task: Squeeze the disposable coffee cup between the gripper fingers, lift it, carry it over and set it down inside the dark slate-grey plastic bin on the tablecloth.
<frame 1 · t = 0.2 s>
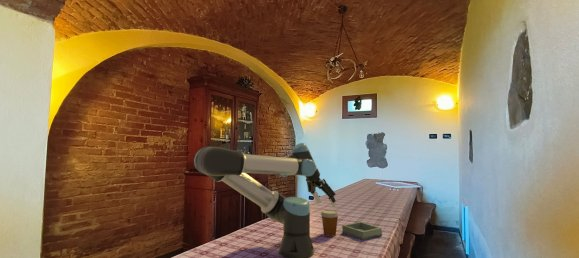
hand: (327, 204, 156), 16 cm above the table, tool tilted 30°, fingers open, 13 cm apart
bin: (361, 234, 157), on the table
disposable coffee cup: (329, 234, 156), on the table
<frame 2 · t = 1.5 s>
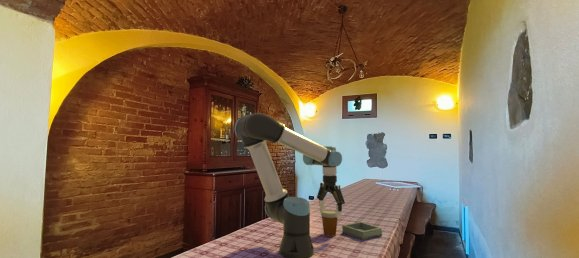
hand: (330, 214, 157), 10 cm above the table, tool pointing down, fingers open, 13 cm apart
nothing on the table moved.
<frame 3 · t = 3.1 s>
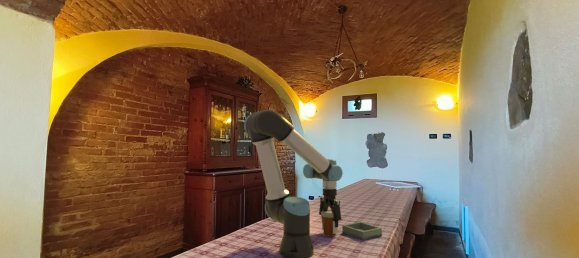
hand: (329, 231, 156), 2 cm above the table, tool pointing down, fingers closed on disposable coffee cup, 8 cm apart
disposable coffee cup: (329, 234, 156), on the table, touching gripper
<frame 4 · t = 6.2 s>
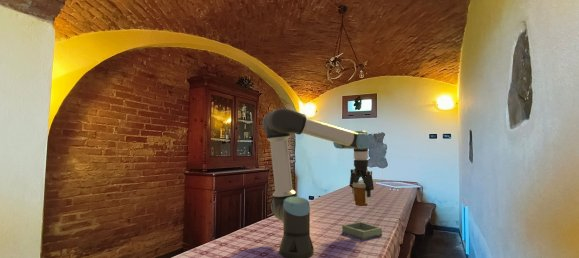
hand: (361, 201, 158), 17 cm above the table, tool pointing down, fingers closed on disposable coffee cup, 8 cm apart
disposable coffee cup: (361, 205, 158), point 15 cm above the table, touching gripper
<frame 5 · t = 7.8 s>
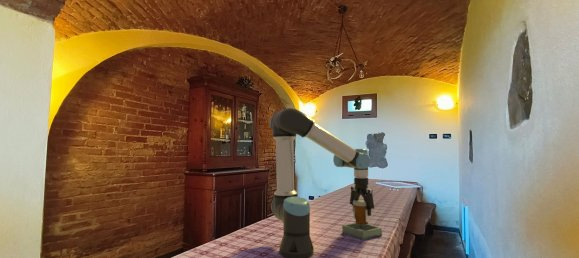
hand: (361, 219, 157), 8 cm above the table, tool pointing down, fingers closed on disposable coffee cup, 8 cm apart
disposable coffee cup: (361, 223, 157), point 6 cm above the table, touching gripper
when the fingers open (5 cm above the table, at t = 9.2 s): disposable coffee cup drops 2 cm, resting on bin.
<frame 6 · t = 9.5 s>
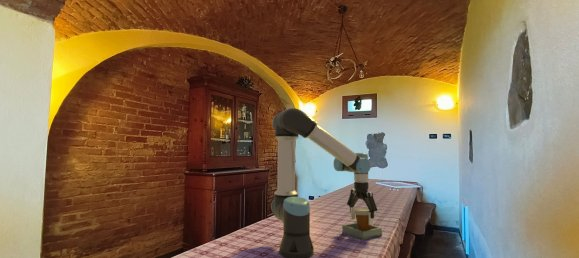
hand: (361, 221, 157), 7 cm above the table, tool pointing down, fingers open, 12 cm apart
disposable coffee cup: (364, 233, 155), point 1 cm above the table, touching bin, gripper
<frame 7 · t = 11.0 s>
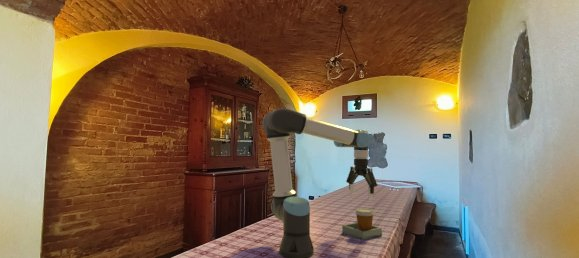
hand: (361, 197, 158), 19 cm above the table, tool pointing down, fingers open, 13 cm apart
disposable coffee cup: (364, 233, 155), point 1 cm above the table, touching bin
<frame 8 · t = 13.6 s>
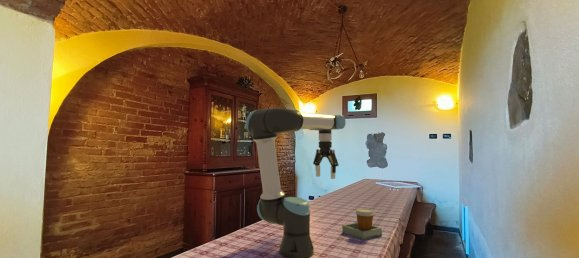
hand: (325, 177, 170), 29 cm above the table, tool pointing down, fingers open, 13 cm apart
nothing on the table moved.
at the end: disposable coffee cup inside the target area on the bin (2.2 cm from its centre), point 0.8 cm above the bin's base; disposable coffee cup tilted 0°; the gripper is holding nothing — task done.
